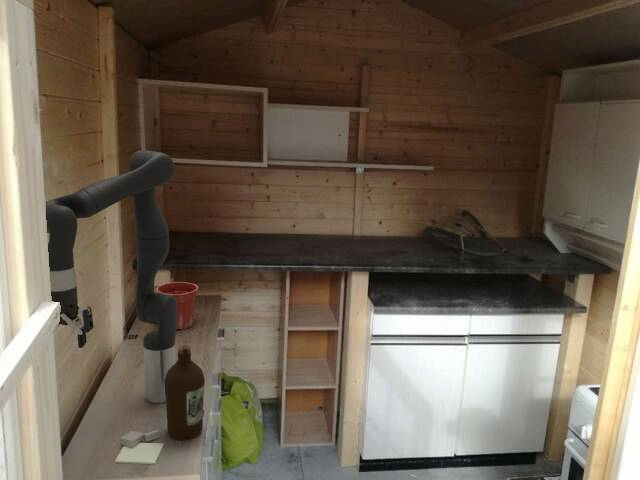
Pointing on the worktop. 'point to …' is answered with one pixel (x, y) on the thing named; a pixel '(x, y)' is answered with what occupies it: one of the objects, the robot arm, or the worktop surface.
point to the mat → (140, 453)
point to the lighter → (138, 437)
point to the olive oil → (184, 397)
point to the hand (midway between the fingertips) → (64, 346)
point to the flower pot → (181, 300)
